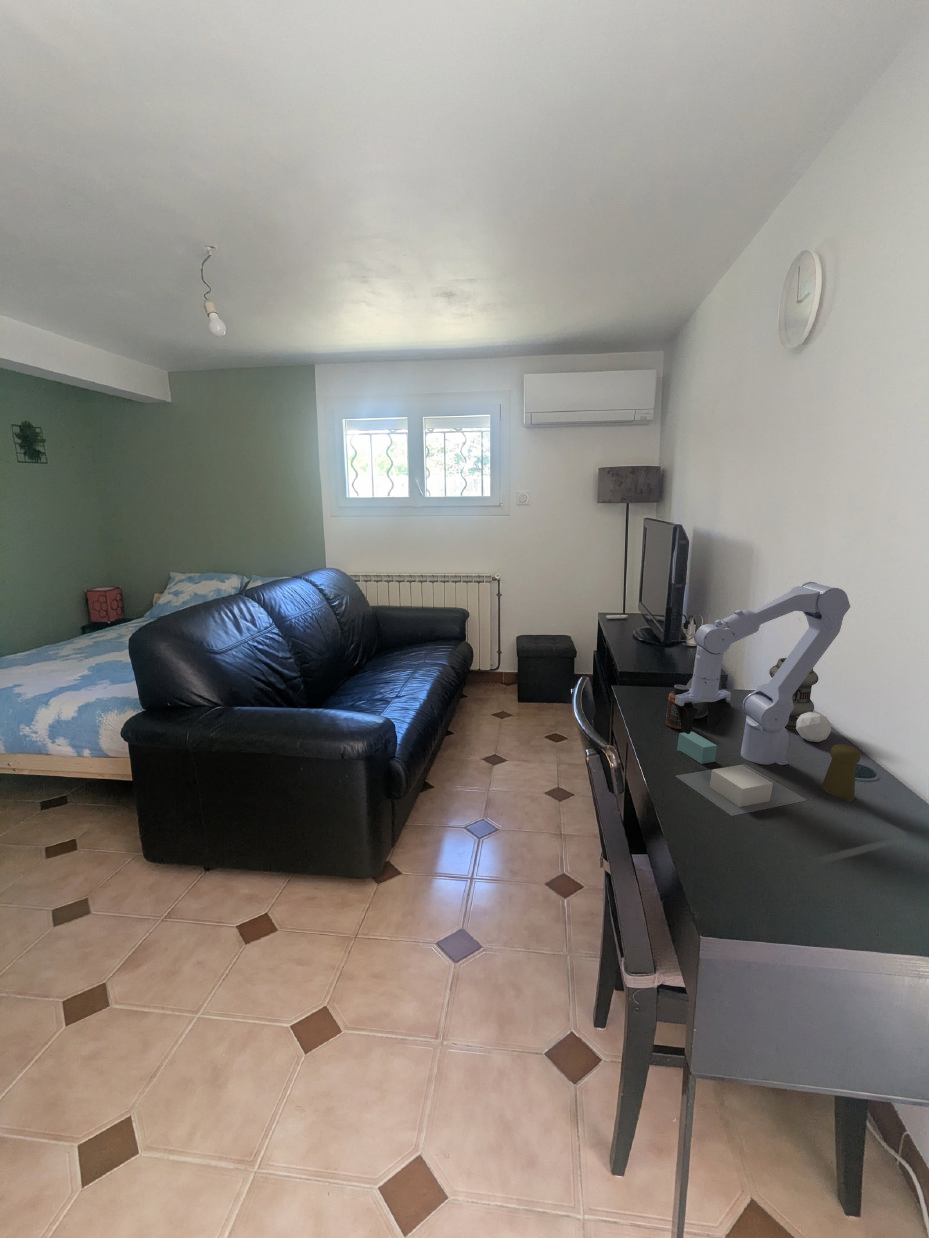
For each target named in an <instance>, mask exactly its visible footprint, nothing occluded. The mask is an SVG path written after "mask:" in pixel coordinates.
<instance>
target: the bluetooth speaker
mask: <svg viewBox="0 0 929 1238" xmlns="http://www.w3.org/2000/svg"><path fill="white" fill-rule="evenodd" d="M692 679H693V676H692V677H691V678H690V679H689V681H688V682H687V684H686V685H685V686H688V687H689V688H690V689H691V686H692ZM718 690H722V680H721V679H720V681H719V688H718ZM692 705H693V707H694V708H696V709H698V711H697V713H696V715H695V717H694V719H698V720H699V719H702V718H703V719H704V718H705V717H706V716H708V706H707V702H700V703H692Z"/></svg>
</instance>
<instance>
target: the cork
mask: <svg viewBox="0 0 929 1238" xmlns="http://www.w3.org/2000/svg"><path fill="white" fill-rule="evenodd" d="M829 753H830V754H829V755H830V757H831V761H830V763H829V766H828V768H827V771H826V774H825V775H824V779H823V781H822V785H821V790H823V791H824V792H826V793H827V794H829V795H831V796H834V797H838V798H840V799H842V800H844V801H846V802H849V803H852V802H854V800H855V794H856V793H855V787H856V786H855V785H856V765H858V764H859V762H860V761H861V753H860V751H859V750H858V749H857V748H856V747H854V746H852V745H848V744H844V743H836V744H834V745H833V746H831V748H830V751H829Z"/></svg>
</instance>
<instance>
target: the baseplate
mask: <svg viewBox="0 0 929 1238" xmlns="http://www.w3.org/2000/svg"><path fill="white" fill-rule="evenodd" d="M737 765H738V764H737ZM737 765H735V766H737ZM741 765H743V766H744V767H746V768H748V769H749V770H751V771H753V772H755V773H756V774H758V775H760V776H761V777H763V778H765V779H767V780H768V781H770V782H772V783H773V786H772V792H771V798H770V801H767V802H762V803H757V804H752V805H747V806H742V807H739V806H737V805H736V804H734V803H733V802H731V801H730V800H728V799H727V798H725V797H724V796H722V795H721V794H719V793H718V792H716V791H715V790H713V789H712V788H711V787H710V780H711V774H712V770H713V769H714V768H713V769H707V770H702V771H695V772H690V773H684V774H677V775H675V777H676V778H677V779H679V780H680V781H681V782H683V783H684V784H685V785H687V786H688V787H689V788H691V789H693V790H694V791H695V792H697V793H698V794H699V795H702V797H704V798H705V799H707V800H708V801H710V802H711V803H713V804H714V805H716V806H717V807H718V808H719V809H721V810H722V811H724V812H725V813H727V814H728V815H729V816H731V817H733V816H734V817H735V816H738V815H745V814H748V813H749V814H750V813H753V812H758V811H763V810H767V809H772V808H778V807H782V806H783V807H784V806H787V805H792V804H797V803H802V802H806V801H808V799H806V798H805V797H803V796H801V795H799V794H798V793H796V792H794V791H792V790H791V789H789V788H788V787H786V786H784V785H782V784H780V783H778V782H777V781H775V780H773V779H771V778H770V777H768V776H766V775H764V774H763V773H761V772H759V771H758V770H755V769H754V768H753V767H751V766H749V765H747V764H745V763H744V764H741ZM731 766H732V765H730V766H729V767H731ZM723 768H725V766H724V767H723ZM717 769H719V767H718V768H717Z"/></svg>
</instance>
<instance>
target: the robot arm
mask: <svg viewBox="0 0 929 1238" xmlns="http://www.w3.org/2000/svg"><path fill="white" fill-rule="evenodd" d="M850 609H851V603H850V601H849V598H848V594H847V592H845V590H843V589H842V588H839V587H832V586H829V585H823V584H820V583H817V582H815V581H807V582H804V583H802V584H801V585H798V586H793V587H792V588H791V590H789V591H788V592H787V593H784V594H782V595H781V596H779V597H777V598H775V599H773V600H772V601H768V602H767V603H766V604H763V605H761V606H760V607H758V608H756V609H754V610H753V611H752V610H749V609H737V610H734V611H733V612H734V614H731V615H730V616H726V617H724V618H722V619H716V620H715V621H714V623H713V624H712V623H706V624H703V625H701V626H700V627H698V629H696V631H695V633H694V634H693V635H692V637H693V641H694V643H695V644H696V651H695V659H694V667H693V674H692V677H693V679H692V678H691V679H692V686H691V689H689V692H686V693H683V694H680V695H676V698H675V706H676V708H677V711H678V714H679V717H680V722H681V729H680V730H681V732H682V733H686V734H690V732H692V728H693V724H694V719H695V718H694V717H695V715H696V713H697V711H698V709H696V708H694V707H693V705H692V703H700V702H707V706H708V714H707V718H706V728H708V729H710V730H711V731H716V730H717V728H718V726H719V724H720V722H721V720H722V719H723V716H724V715H725V714H726V713H727V711H728V710H729V709H731V702H728V701H731V697H732V692H730V691H727V690H725V689H723V690H722V689H721V690H718V688H719V681H720V680H721V673H722V666H723V660H724V653H725V652H727V650H729V649H730V647H731V645H732V644H734V643H736V642H738V641H740V640H742V639H744V638H747V637H749V636H752V635H753V634H755V633H756V634H757V632H759V629H760V627H761V625H763V624H765V623H768V622H770V621H773V620H775V619H778V618H780V617H783V616H786V615H788V614H790V613H793V612H802V613H803V614H804V616H805V617H806V621H807V623H808V628H807V630H805V632H804V634H803V635H802V637H801V638H800V640H798V642H797V643H796V644H795V646H794V647H793V649H792V651H790V653H789V654H788V655H787V657H785V658H786V660H785V661H784V662H783V664H782V665H781V667H780V668H779V669H778V671H777V672H776V673H775V675H774V676H773V678H772V677H771V679H770V680H769V681H768V682H767V683H764V684H760V685H759V686H757V687H756V689H754V691H753V692H751V693H750V694H748V695H746V697H745V698H744V699H743V702H742V707H741V708H742V710H743V712H744V713H745V715H746V716H745V724H744V731H743V736H742V737H743V738H742V742H741V750H740V756H741V757H742V758H743V759H745V760H747V761H749V762H752V763H755V764H760V765H771V764H774V763H776V764H778V765H780V766H784V765H788V764H789V762H788V761H787V760H786V757H787V750H788V745H789V740H790V735H789V732H788V730H787V728H785V726H786V725H787V723H788V721H789V716H790V713H791V712H792V710H793V709H794V705H793V700H792V696H793V694H794V693H795V691H796V690H797V689H798V687H799V686H800V685H801V683H802V682H803V681H804V679H805V678H806V677H807V675H808V674H809V673H810V671H811V670H812V669H813V670H814V668H815V666H816V665H817V663H818V662H819V661H820V659H821V658H822V657H823V655H824V654H825V653H826V651H827V650H828V649H829V647H830V646H831V644H832V643H833V642H834V640H835V639H836V638H837V636H838V635H839V634H840V632H841V630H842V629H841V628H842V625H843V620H844V616H846V615H847V612H848V611H849V610H850ZM772 700H773V701H772Z"/></svg>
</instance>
